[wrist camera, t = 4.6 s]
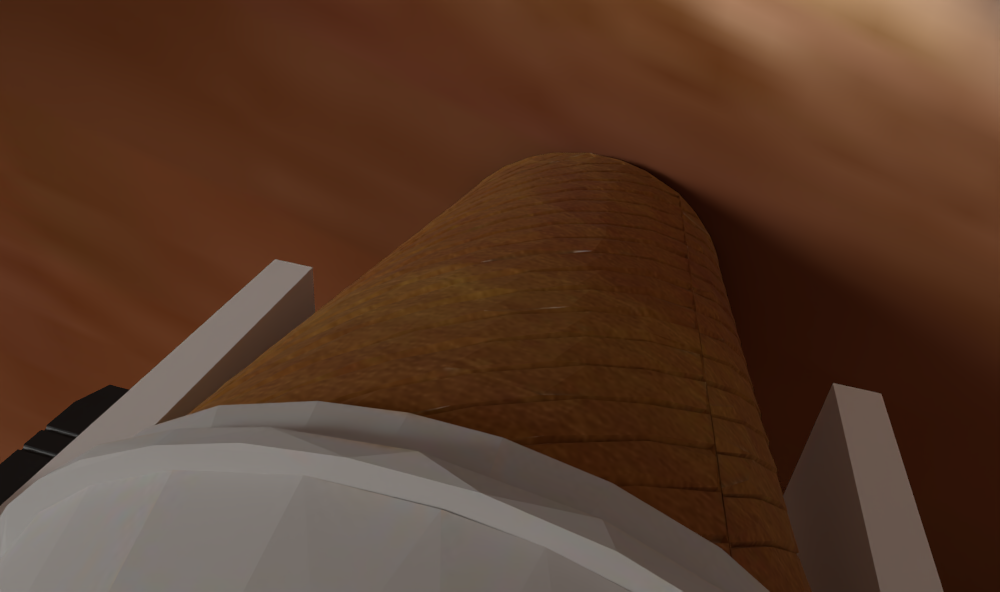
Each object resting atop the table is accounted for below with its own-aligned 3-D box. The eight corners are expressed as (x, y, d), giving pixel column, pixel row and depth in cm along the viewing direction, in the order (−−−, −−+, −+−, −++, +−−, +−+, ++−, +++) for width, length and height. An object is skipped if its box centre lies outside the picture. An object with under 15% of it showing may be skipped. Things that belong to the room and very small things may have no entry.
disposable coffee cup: (895, 153, 13) (1467, 1098, 3) (701, 494, 18) (682, 1245, 8) (408, 8, 14) (-362, 370, 4) (358, 373, 19) (-28, 919, 9)
